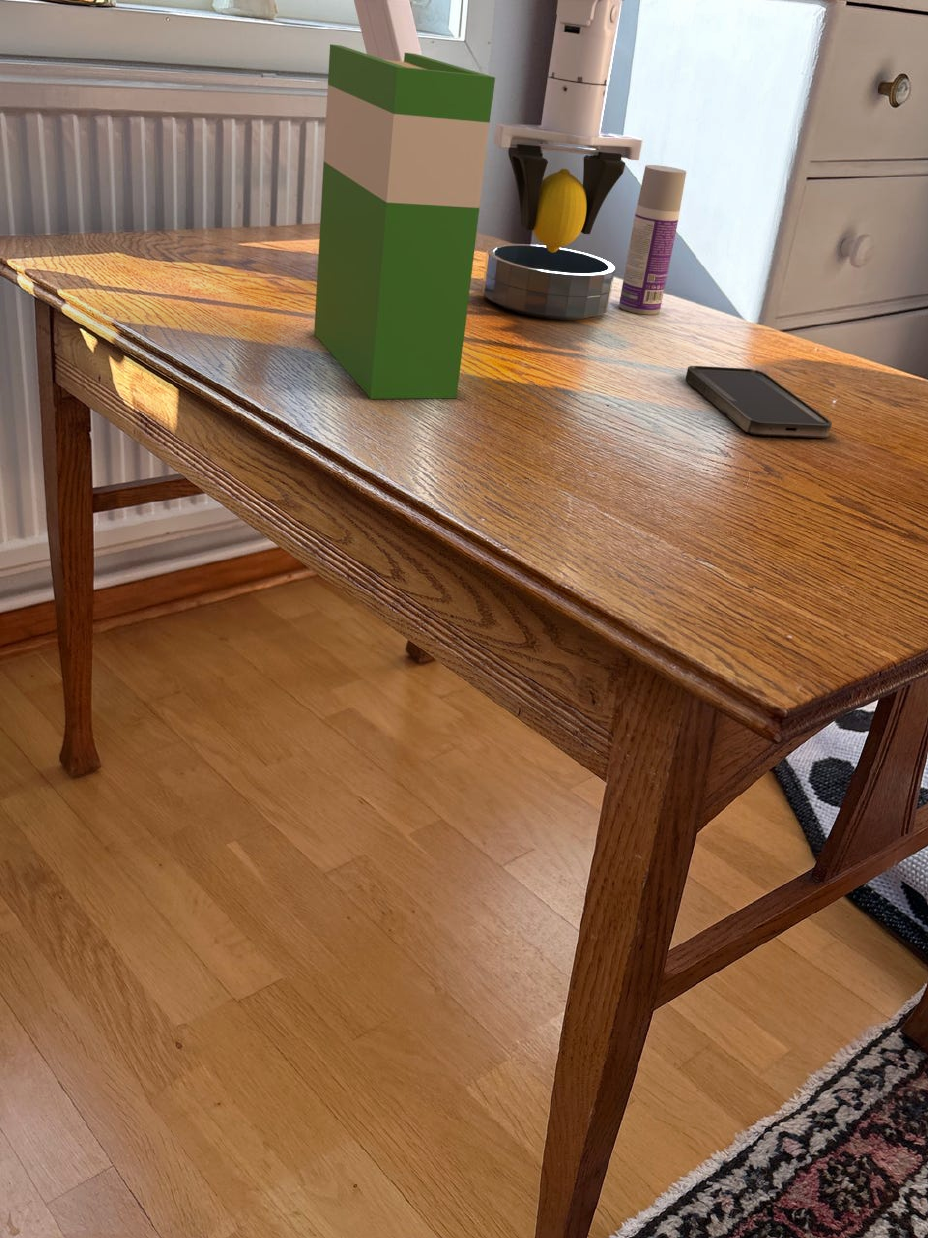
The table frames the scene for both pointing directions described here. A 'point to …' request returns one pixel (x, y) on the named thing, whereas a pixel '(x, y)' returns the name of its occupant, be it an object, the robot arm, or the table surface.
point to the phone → (758, 402)
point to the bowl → (547, 281)
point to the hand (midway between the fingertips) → (554, 229)
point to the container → (652, 239)
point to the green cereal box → (400, 219)
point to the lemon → (560, 210)
